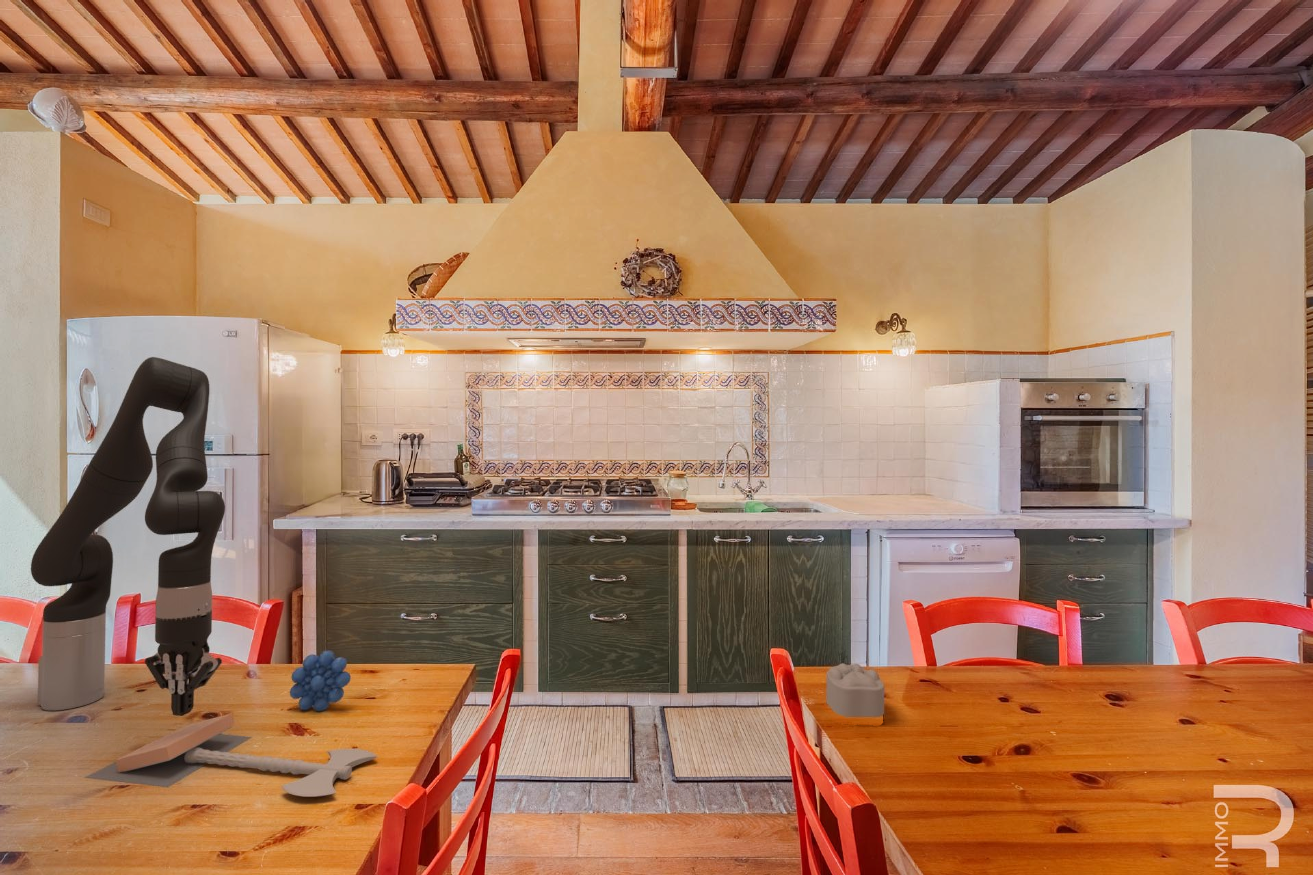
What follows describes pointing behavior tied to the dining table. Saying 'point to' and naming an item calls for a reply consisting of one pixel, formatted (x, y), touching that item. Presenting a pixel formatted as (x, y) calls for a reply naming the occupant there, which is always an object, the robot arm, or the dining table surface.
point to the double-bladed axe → (292, 767)
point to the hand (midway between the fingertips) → (182, 713)
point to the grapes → (319, 681)
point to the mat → (168, 765)
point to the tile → (174, 743)
